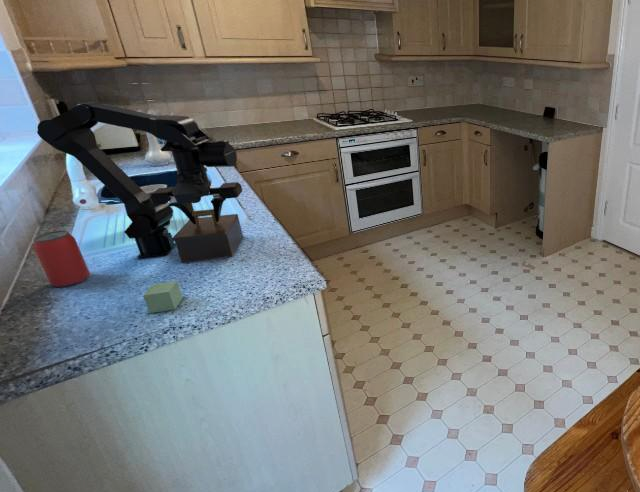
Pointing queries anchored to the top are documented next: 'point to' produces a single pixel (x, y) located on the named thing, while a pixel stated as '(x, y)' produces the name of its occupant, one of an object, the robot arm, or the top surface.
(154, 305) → the block
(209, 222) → the box lid
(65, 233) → the beer can
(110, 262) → the top surface
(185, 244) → the storage box
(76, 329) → the top surface
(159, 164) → the flower vase
